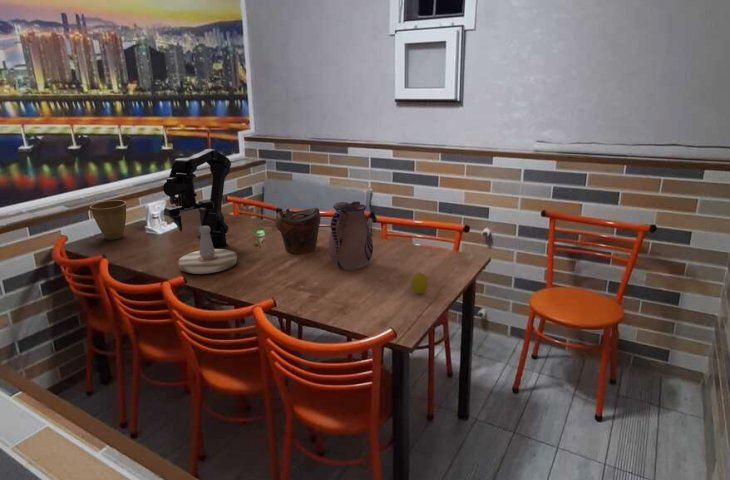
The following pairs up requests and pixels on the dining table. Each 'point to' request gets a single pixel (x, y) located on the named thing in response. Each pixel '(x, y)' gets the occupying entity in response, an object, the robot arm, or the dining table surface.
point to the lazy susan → (207, 262)
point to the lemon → (419, 283)
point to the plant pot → (110, 218)
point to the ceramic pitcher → (350, 236)
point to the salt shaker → (206, 243)
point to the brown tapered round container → (299, 229)
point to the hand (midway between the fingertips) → (191, 228)
